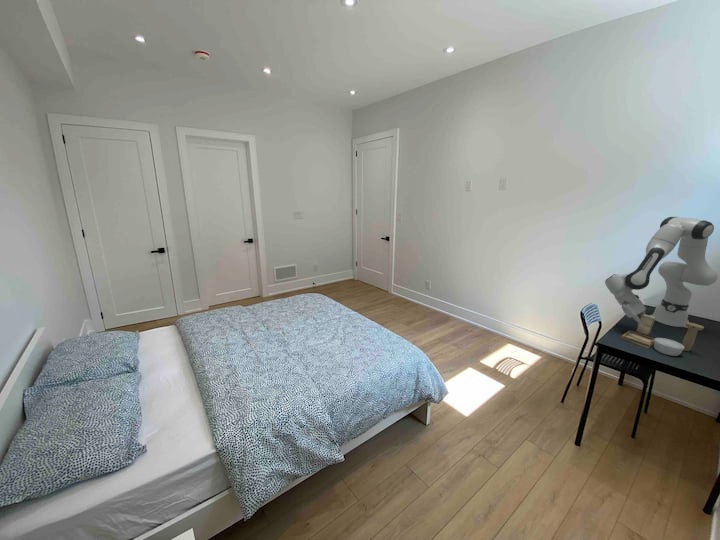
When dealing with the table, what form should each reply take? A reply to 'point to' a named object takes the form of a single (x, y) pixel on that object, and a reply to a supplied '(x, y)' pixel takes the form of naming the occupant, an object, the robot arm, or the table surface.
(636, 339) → the wooden tray
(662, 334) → the table surface
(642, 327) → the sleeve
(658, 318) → the robot arm
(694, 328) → the handle
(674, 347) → the ramekin
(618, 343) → the table surface
